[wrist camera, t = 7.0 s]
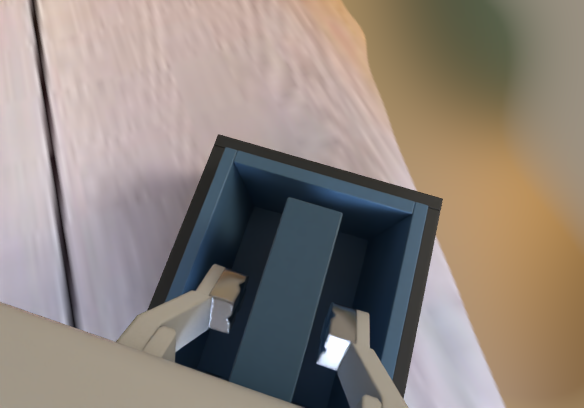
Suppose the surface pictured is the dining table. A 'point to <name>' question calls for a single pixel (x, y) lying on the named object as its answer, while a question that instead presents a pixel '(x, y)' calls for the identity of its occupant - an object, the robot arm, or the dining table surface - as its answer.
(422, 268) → the tote
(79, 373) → the robot arm
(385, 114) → the dining table surface
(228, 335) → the caddy
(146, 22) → the dining table surface
